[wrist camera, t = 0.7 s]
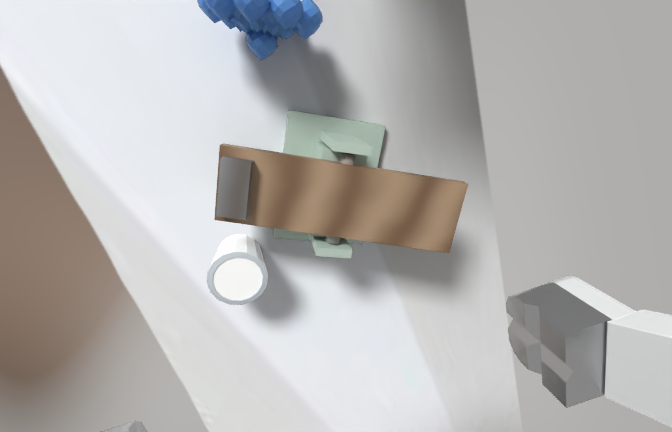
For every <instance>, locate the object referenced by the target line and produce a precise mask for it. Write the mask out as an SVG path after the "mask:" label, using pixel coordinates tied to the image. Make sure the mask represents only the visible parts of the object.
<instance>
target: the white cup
mask: <svg viewBox="0 0 672 432" xmlns="http://www.w3.org/2000/svg"><path fill="white" fill-rule="evenodd" d="M267 283H268V272H267V269H266V265H265V262H264V258H263V255H262V251H261V248H260V245H259V243H258V242H257V241H256V240H255V239H254V238H252V237H250V236H248V235H245V234H235V235H232V236H229V237H227V238H226V239H225V240H223V241H222V242H221V244H220V246H219V248H218V250H217V252H216V254H215V256H214V259H213V261H212V263H211V266H210V268H209V270H208V274H207V284H208V287H209V289H210V292H211V293H212V294H213V295H214V296H215V297H216V298H217V299H218V300H220V301H222V302H225V303H227V304H231V305H243V304H246V303H249V302H252V301H254V300H255V299H256V298H258V297H259V296H261V295H262V293H263V292H264V290H265V288H266V287H267Z"/></svg>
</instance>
